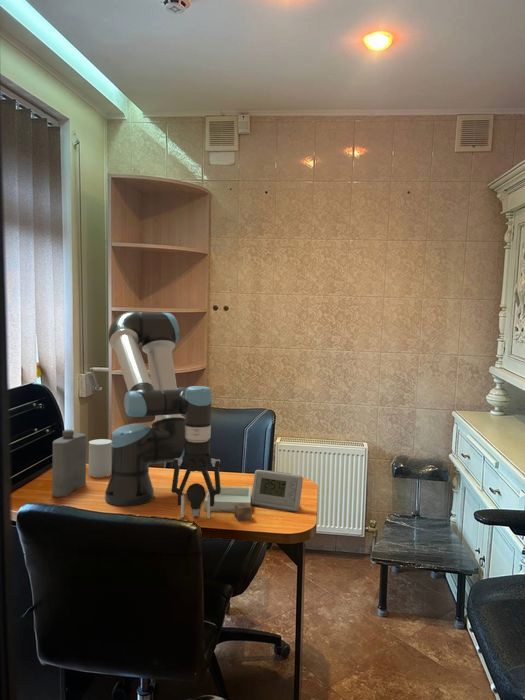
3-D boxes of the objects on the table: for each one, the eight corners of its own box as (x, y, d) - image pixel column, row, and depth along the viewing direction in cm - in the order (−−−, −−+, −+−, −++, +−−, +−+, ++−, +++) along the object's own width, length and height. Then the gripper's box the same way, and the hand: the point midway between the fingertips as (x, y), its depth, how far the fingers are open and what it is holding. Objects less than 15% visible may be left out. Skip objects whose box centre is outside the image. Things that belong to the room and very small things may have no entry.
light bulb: (206, 513, 156) (207, 481, 155) (202, 521, 150) (203, 487, 150) (188, 512, 157) (189, 480, 156) (183, 519, 151) (184, 486, 150)
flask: (73, 482, 181) (73, 425, 180) (88, 483, 180) (89, 426, 179) (46, 496, 167) (47, 434, 165) (62, 498, 165) (63, 436, 164)
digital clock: (247, 505, 165) (248, 472, 164) (262, 497, 172) (263, 465, 172) (292, 516, 156) (294, 481, 156) (306, 507, 164) (307, 474, 163)
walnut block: (238, 522, 151) (238, 508, 151) (234, 516, 155) (234, 503, 154) (251, 520, 152) (251, 507, 152) (247, 515, 156) (247, 502, 156)
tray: (204, 510, 158) (204, 501, 158) (208, 495, 172) (209, 486, 172) (250, 512, 158) (250, 502, 158) (251, 496, 172) (251, 487, 172)
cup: (106, 469, 197) (106, 438, 196) (115, 474, 191) (115, 442, 190) (84, 473, 192) (85, 441, 191) (93, 478, 186) (94, 445, 185)
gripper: (161, 441, 148) (159, 520, 150) (230, 443, 148) (228, 522, 150) (165, 435, 156) (164, 510, 157) (232, 437, 156) (230, 512, 157)
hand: (195, 516), depth 153 cm, fingers open, 7 cm apart
